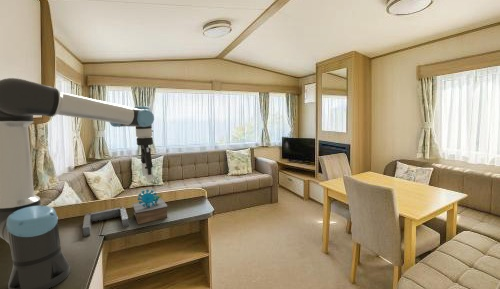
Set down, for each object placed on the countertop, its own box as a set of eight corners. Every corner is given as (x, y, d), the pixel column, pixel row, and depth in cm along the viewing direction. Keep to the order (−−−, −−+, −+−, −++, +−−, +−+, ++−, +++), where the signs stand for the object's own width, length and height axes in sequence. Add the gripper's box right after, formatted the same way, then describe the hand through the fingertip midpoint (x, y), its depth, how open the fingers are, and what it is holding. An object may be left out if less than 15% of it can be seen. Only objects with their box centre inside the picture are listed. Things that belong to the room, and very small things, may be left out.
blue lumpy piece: (138, 206, 120) (137, 189, 126) (136, 212, 124) (136, 194, 130) (161, 205, 126) (159, 188, 131) (159, 210, 130) (157, 193, 135)
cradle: (128, 226, 116) (128, 218, 116) (83, 236, 107) (82, 228, 106) (125, 213, 131) (124, 206, 131) (85, 221, 122) (84, 214, 121)
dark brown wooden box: (168, 217, 125) (167, 206, 124) (136, 224, 117) (135, 213, 117) (162, 208, 138) (161, 198, 137) (133, 214, 130) (132, 203, 129)
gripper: (157, 138, 114) (160, 182, 116) (148, 135, 135) (151, 172, 138) (139, 139, 110) (143, 184, 113) (133, 136, 131) (136, 174, 134)
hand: (147, 178), depth 125 cm, fingers open, 13 cm apart
